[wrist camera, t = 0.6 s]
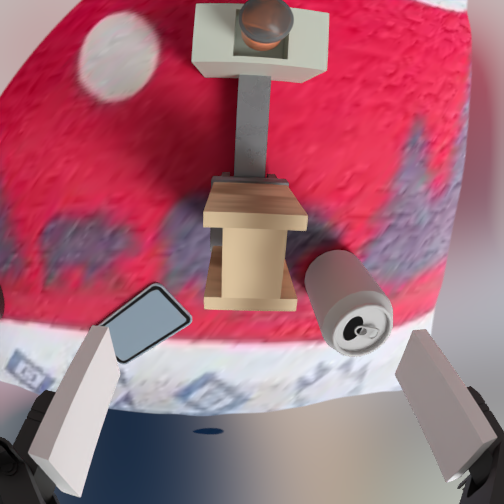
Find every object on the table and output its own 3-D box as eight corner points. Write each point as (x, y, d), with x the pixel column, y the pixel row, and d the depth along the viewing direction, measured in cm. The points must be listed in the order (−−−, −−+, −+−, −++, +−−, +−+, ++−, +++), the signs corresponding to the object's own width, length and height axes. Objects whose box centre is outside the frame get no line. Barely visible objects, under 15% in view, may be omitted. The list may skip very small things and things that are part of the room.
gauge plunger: (237, 52, 20) (237, 39, 16) (239, 12, 19) (240, -6, 15) (283, 55, 20) (292, 44, 17) (285, 15, 19) (294, -2, 15)
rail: (231, 232, 36) (231, 242, 34) (238, 78, 30) (239, 74, 27) (258, 233, 36) (260, 243, 34) (268, 79, 30) (271, 76, 27)
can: (313, 240, 37) (343, 294, 26) (369, 253, 38) (412, 305, 27) (295, 295, 40) (314, 360, 29) (348, 304, 41) (379, 365, 30)
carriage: (213, 235, 35) (200, 308, 22) (214, 171, 32) (198, 211, 19) (277, 237, 36) (299, 311, 23) (282, 174, 33) (312, 216, 20)
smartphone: (195, 321, 41) (123, 366, 44) (196, 317, 41) (124, 362, 44) (156, 280, 38) (87, 334, 41) (158, 277, 39) (89, 330, 42)
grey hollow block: (204, 77, 29) (191, 61, 20) (207, 34, 27) (196, 3, 18) (301, 83, 30) (326, 70, 21) (303, 40, 28) (329, 13, 19)
